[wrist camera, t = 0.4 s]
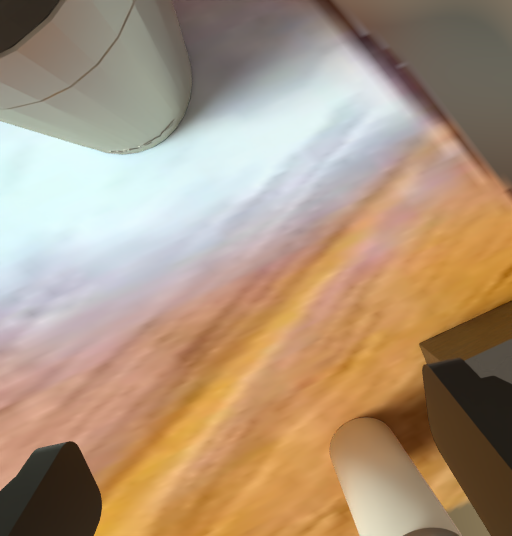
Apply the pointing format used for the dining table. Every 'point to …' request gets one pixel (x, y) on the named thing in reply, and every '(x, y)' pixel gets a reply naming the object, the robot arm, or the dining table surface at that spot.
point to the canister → (385, 484)
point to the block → (477, 344)
